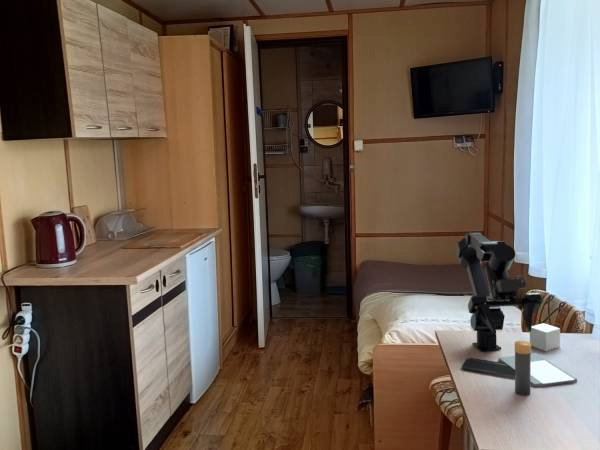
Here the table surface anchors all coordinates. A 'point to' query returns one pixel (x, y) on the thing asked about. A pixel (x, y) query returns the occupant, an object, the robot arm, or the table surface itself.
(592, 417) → the table surface
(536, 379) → the writing board
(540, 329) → the white cube
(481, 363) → the phone
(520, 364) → the grey cylinder
